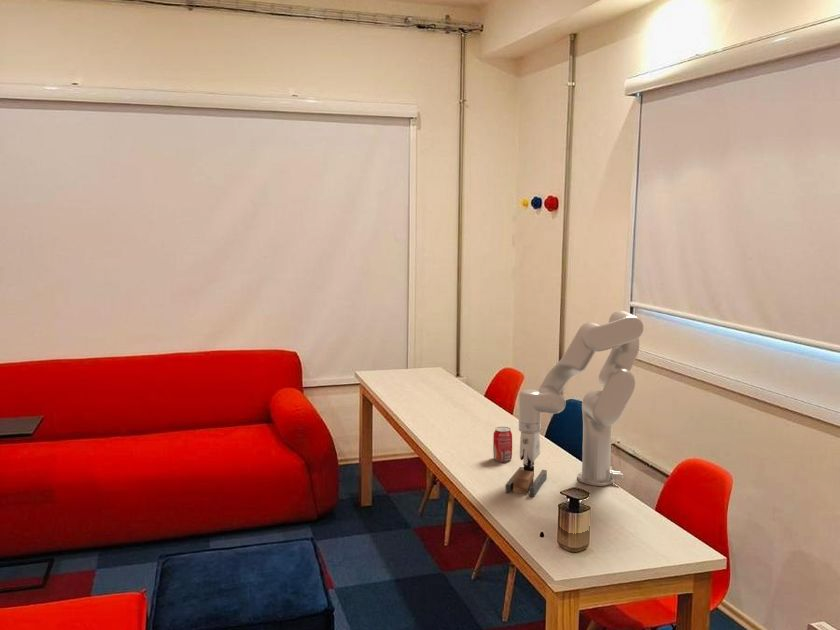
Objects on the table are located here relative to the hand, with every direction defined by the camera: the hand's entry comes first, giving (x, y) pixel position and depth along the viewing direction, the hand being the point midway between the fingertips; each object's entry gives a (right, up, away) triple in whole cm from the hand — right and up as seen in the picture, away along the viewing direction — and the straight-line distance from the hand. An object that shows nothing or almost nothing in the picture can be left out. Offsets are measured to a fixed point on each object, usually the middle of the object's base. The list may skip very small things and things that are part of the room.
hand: (528, 477), depth 259 cm
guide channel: (-1, -2, -3) cm, 4 cm away
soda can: (-7, +1, +23) cm, 24 cm away
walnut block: (-3, -3, -5) cm, 7 cm away
